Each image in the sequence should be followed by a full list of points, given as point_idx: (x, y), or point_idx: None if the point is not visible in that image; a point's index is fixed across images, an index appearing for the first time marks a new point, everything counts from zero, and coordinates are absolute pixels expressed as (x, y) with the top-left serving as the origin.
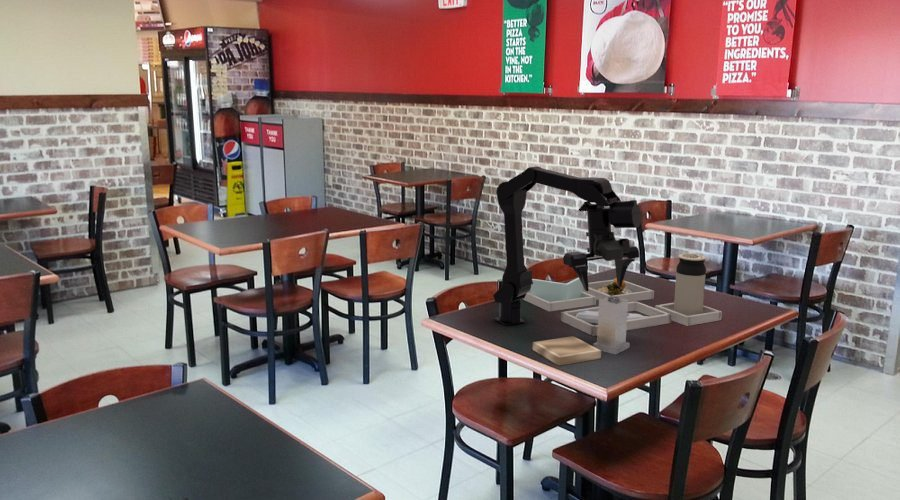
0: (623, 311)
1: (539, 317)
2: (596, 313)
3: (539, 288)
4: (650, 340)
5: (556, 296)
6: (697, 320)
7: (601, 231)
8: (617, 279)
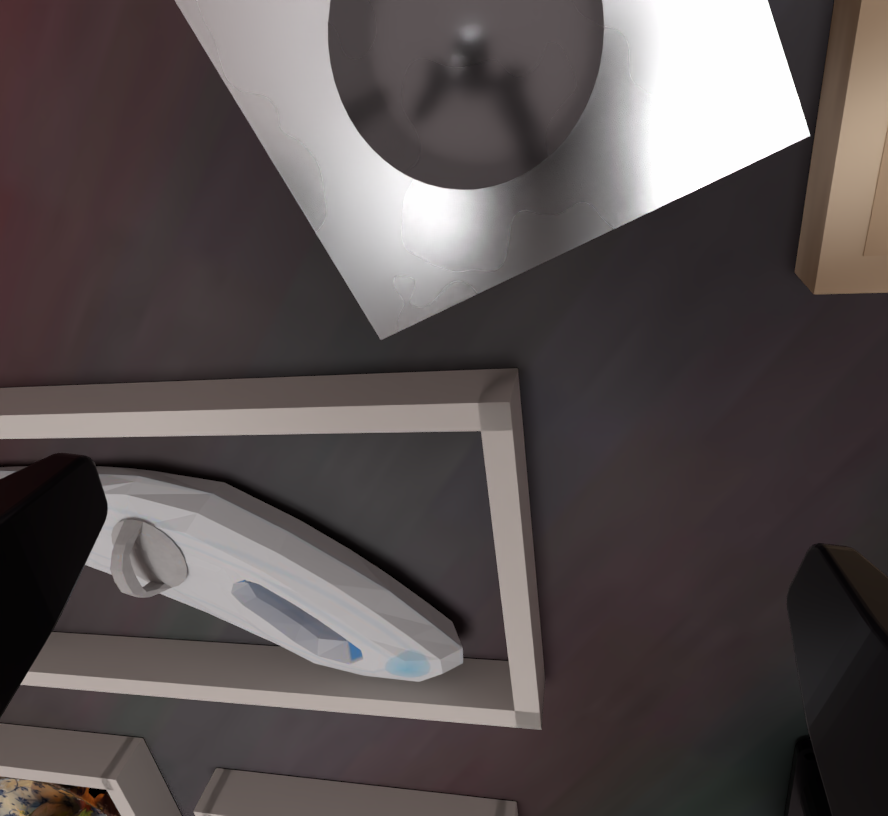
0: None
1: (631, 764)
2: (332, 612)
3: None
4: (131, 117)
5: None
6: None
7: None
8: (34, 621)
